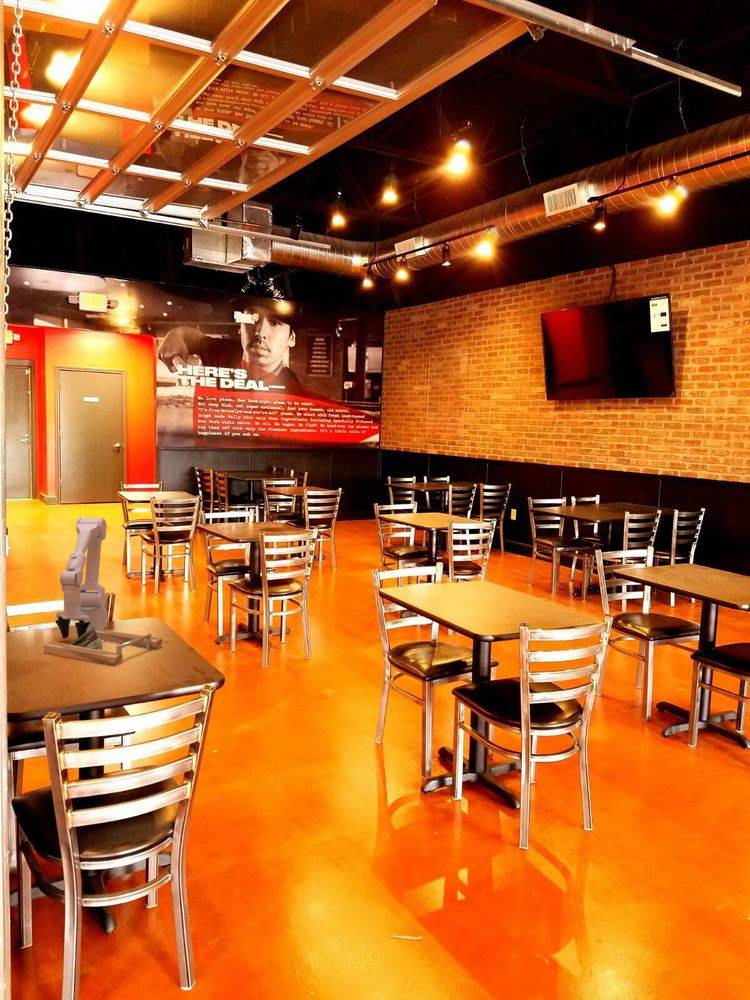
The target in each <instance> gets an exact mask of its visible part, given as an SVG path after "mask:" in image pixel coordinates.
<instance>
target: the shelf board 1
mask: <svg viewBox="0 0 750 1000" xmlns="http://www.w3.org/2000/svg"><path fill="white" fill-rule="evenodd" d="M68 644H69V643H62V642H57V641H51V642H48V643H47V642H46V643H44V644H43V653H44V652H48V653H53V654H57V655H62V656H67V657H66V658H68V657H71V658H70V659H73V658H77V659H76V660H78V659H82V660H81V661H83V660H86V661H85V662H89V661H92V662H91V663H94V662H96V663H95V664H99V663H100V664H101V665H105V664H106V666H111V667H116V666H117V665H120V664H123V662H124V661H123V653H122V654H119V653H116V652H112V651H107V650H101V649H100V650H96V649H91V648H85V647H80V646H74V645H68ZM57 655H56V656H57ZM62 656H61V657H62Z"/></svg>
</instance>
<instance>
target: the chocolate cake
mask: <svg viewBox="0 0 750 1000" xmlns="http://www.w3.org/2000/svg"><path fill="white" fill-rule="evenodd" d="M102 642H103V641H101V639H100V638H99V637H98V636H97V633H96V631H95V627H93V628H92V629H90V630H89V631H87V632H85V633H84V634H83V635H81V636H80V637H79V638H78V637H77V638H75V639H74V640H73V641H71V642H69V643H67V644H68V645H74V646H80V647H85V648H91V649H100V648H101V649H103V643H102ZM101 649H100V650H101Z"/></svg>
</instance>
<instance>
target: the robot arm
mask: <svg viewBox="0 0 750 1000" xmlns="http://www.w3.org/2000/svg"><path fill="white" fill-rule="evenodd" d="M107 525H108V524H107V521H106V519H105V518H104V517H79V518H77V520H76V524H75V530H76V534H77V540H76V544H75V550H74V552H72V553H70V554H69V555H70V556H69V559H68V561H67V564H66V568H65V570H64V571H62V572H61V573H60V577H59V583H60V586H61V591H63V611H58V612H55V618H56V620H55V624H56V625H57V626H58V628H59V631H60V634H61V637H62V639H67V638H69V636H70V624H71V621H77V622H74V626H75V628H76V631H77V632H76V633H77V638H79V637H80V636H81V635H83V634H84V633H85V632H87V630H90V629H92V628H93V627H95V628H99V629H103V628H104V627H106V626H107V627H108V612H107V609H106V607H105V604H106V590H105V587H103V586H102V585H101V584H100V583H99V575H100V561H101V551H102V550H101V549H102V541H104V540H106V536H107ZM86 551H87V552H86ZM84 567H85V573H84ZM83 581H84V583H83Z"/></svg>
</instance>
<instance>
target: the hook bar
mask: <svg viewBox="0 0 750 1000" xmlns="http://www.w3.org/2000/svg"><path fill="white" fill-rule="evenodd" d="M142 636H143V637H140V638H137V639H135V640H132V641H129V642H126V643H124V644H118V645H116V648H115V649H116V651H115V653H119V654H122V655H123V651H122V650H123V648H126V647H129V645H131V644H134V643H136V642H139V641H142V640H144V639H147V649H146V651H152V640H151V637H152V633H149V634H146V635H142Z"/></svg>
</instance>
